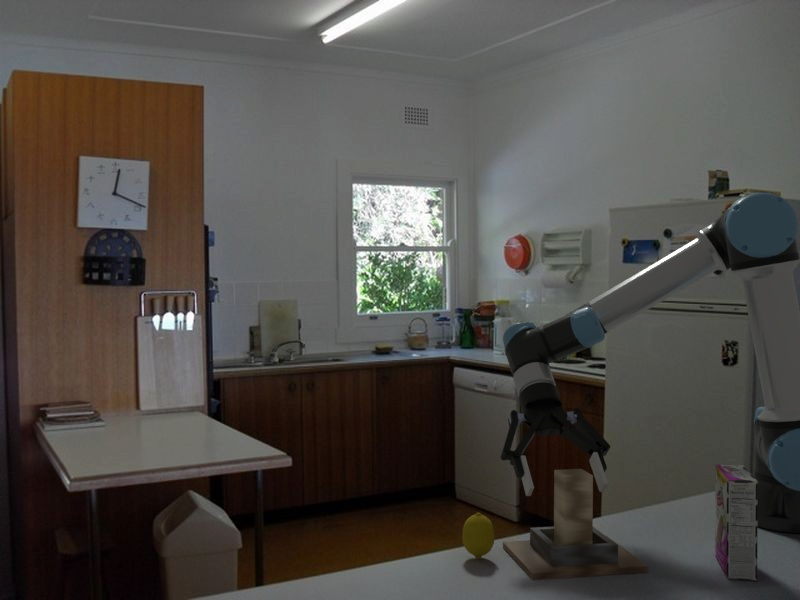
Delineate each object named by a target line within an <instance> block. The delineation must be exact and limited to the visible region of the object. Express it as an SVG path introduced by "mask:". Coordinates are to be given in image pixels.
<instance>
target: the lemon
mask: <svg viewBox="0 0 800 600" xmlns="http://www.w3.org/2000/svg"><path fill="white" fill-rule="evenodd" d="M495 535H496V534H495V530H494V526H493V523H492V521H491V520H490V519H489V518H488V516H485V515H484V514H482V513H480V512H476V513H475V514H472V515H471V516H470V517H468V518H467V519H466V520H465V522H464V525H463V527H462V536H461V538H462V545H463V547H464V548H465V550H466V551H467V552H468V553H469V554H470V555H472V556H474V557H475V558H476V559H477V560H478V559H479V560H480V559H481V558H482V557H483V556H486V555H487V554H489V553H490V552H491V550H492V548H493V547H494V544H495Z"/></svg>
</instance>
